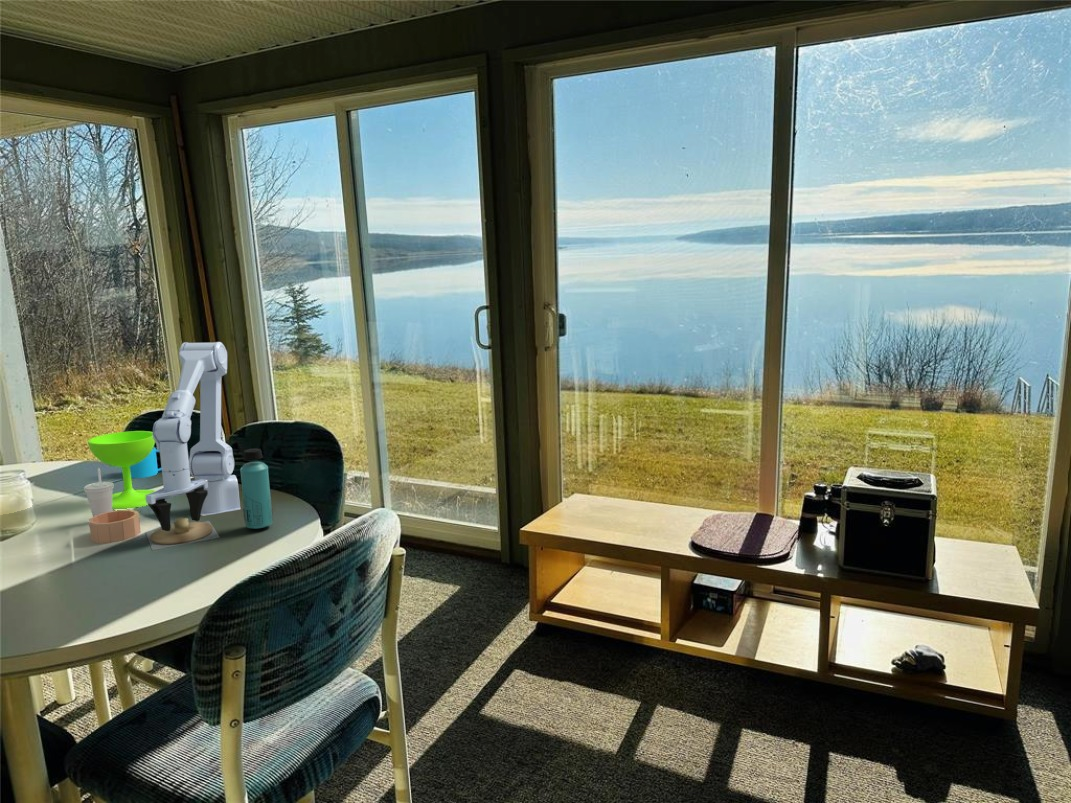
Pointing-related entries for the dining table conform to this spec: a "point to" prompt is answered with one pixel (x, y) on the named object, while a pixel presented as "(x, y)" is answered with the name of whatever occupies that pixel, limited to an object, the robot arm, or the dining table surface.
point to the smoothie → (99, 496)
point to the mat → (159, 546)
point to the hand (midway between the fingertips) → (181, 525)
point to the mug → (146, 466)
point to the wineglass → (124, 461)
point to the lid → (182, 532)
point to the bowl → (114, 526)
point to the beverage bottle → (256, 491)
